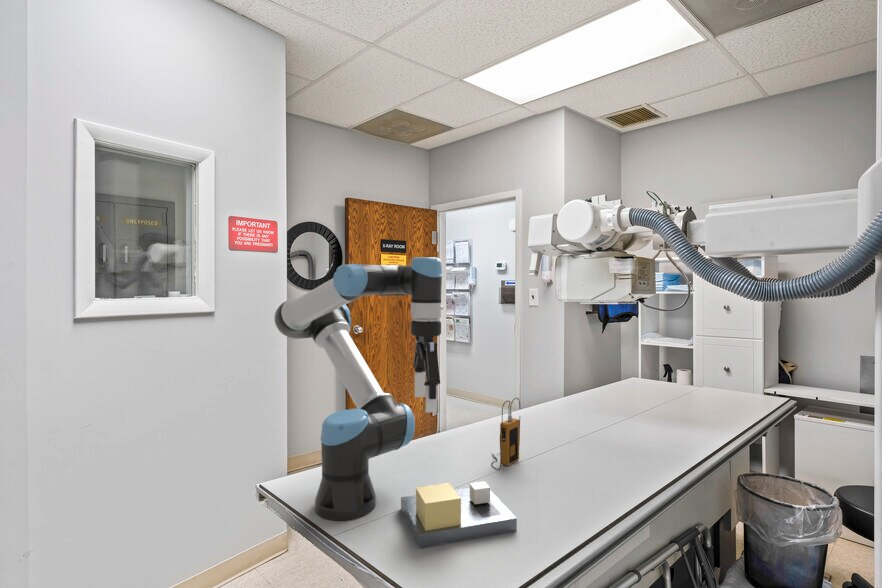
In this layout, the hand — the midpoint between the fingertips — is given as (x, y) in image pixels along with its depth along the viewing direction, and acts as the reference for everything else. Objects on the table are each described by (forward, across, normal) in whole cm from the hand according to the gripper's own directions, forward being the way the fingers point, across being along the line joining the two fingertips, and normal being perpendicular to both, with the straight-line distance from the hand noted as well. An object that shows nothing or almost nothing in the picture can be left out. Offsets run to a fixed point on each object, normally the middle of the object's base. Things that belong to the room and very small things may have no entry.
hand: (425, 404), depth 118 cm
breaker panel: (+26, -8, -6) cm, 28 cm away
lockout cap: (+23, -12, -1) cm, 26 cm away
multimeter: (+27, +24, -30) cm, 47 cm away
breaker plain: (+23, -7, -12) cm, 27 cm away
